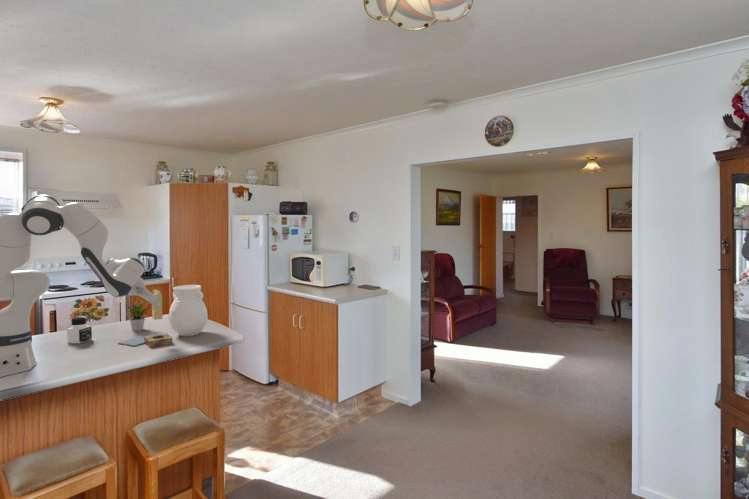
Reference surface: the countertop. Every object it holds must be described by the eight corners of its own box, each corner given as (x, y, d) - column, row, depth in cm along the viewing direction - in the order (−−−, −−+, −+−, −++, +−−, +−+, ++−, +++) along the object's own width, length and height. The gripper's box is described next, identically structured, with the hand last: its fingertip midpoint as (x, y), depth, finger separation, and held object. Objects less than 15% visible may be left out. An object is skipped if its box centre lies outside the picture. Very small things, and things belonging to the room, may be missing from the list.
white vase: (160, 337, 217) (159, 288, 215) (186, 328, 234) (185, 283, 232) (191, 340, 211) (190, 290, 209) (215, 331, 229) (214, 284, 227)
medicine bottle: (79, 344, 204) (78, 319, 203) (67, 343, 206) (66, 318, 205) (92, 339, 211) (91, 315, 210) (80, 338, 213) (79, 315, 212)
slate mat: (134, 346, 201) (134, 345, 201) (118, 343, 205) (118, 342, 205) (154, 340, 211) (154, 339, 211) (138, 337, 215) (138, 336, 215)
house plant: (129, 335, 219) (128, 304, 218) (115, 331, 226) (114, 301, 225) (156, 329, 231) (155, 299, 230) (141, 325, 239) (140, 296, 237)
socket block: (149, 347, 200) (149, 341, 199) (144, 342, 207) (144, 336, 207) (172, 343, 206) (172, 337, 206) (166, 339, 214) (166, 333, 213)
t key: (155, 320, 202) (154, 292, 201) (151, 317, 208) (150, 290, 207) (163, 319, 204) (162, 291, 203) (159, 316, 210) (158, 289, 209)
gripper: (145, 283, 192) (169, 302, 199) (135, 278, 208) (157, 295, 215) (134, 294, 189) (159, 313, 197) (125, 288, 205) (148, 305, 212)
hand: (158, 304), depth 206 cm, fingers closed on t key, 4 cm apart
